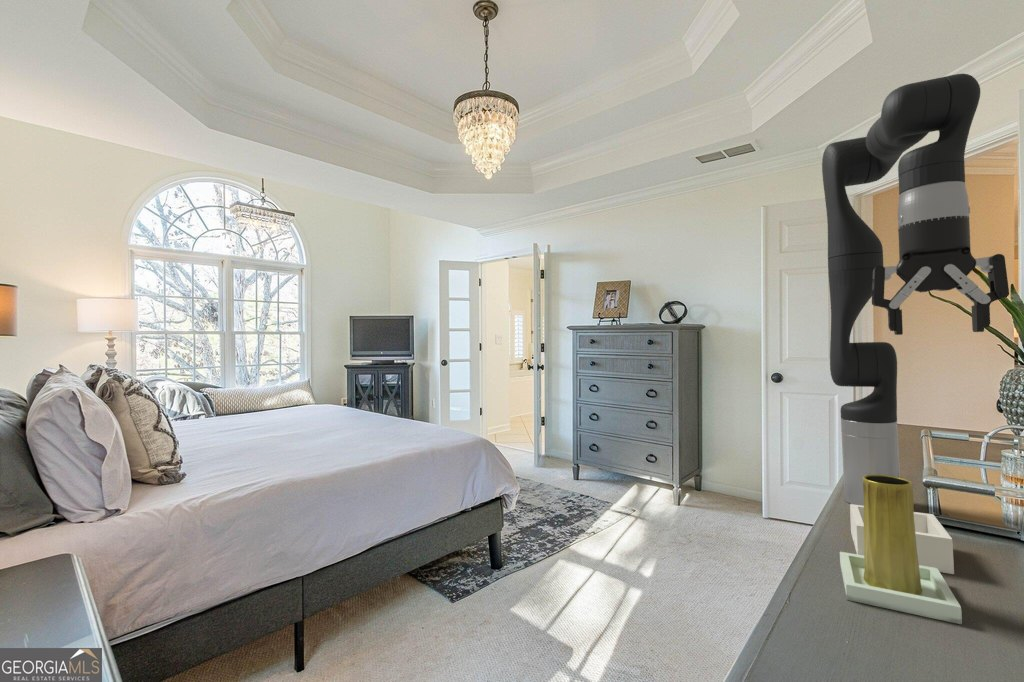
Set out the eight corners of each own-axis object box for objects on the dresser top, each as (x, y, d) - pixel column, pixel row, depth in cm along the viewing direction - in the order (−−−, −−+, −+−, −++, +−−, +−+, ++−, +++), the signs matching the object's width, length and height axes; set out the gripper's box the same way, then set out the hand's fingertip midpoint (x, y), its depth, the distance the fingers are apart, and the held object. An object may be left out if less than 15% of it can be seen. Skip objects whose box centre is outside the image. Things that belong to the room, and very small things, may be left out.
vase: (934, 599, 58) (928, 486, 58) (880, 596, 59) (874, 485, 60) (902, 575, 64) (897, 473, 64) (854, 573, 65) (849, 473, 66)
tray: (840, 564, 69) (839, 551, 69) (937, 582, 63) (937, 568, 63) (846, 599, 60) (846, 584, 60) (962, 624, 54) (961, 607, 54)
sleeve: (851, 532, 80) (849, 504, 81) (934, 545, 75) (933, 514, 75) (858, 557, 71) (856, 525, 71) (954, 574, 65) (952, 539, 65)
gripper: (993, 217, 65) (997, 331, 65) (866, 233, 73) (871, 335, 73) (1013, 205, 59) (1018, 331, 59) (872, 224, 66) (877, 335, 66)
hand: (936, 333), depth 66 cm, fingers open, 8 cm apart
